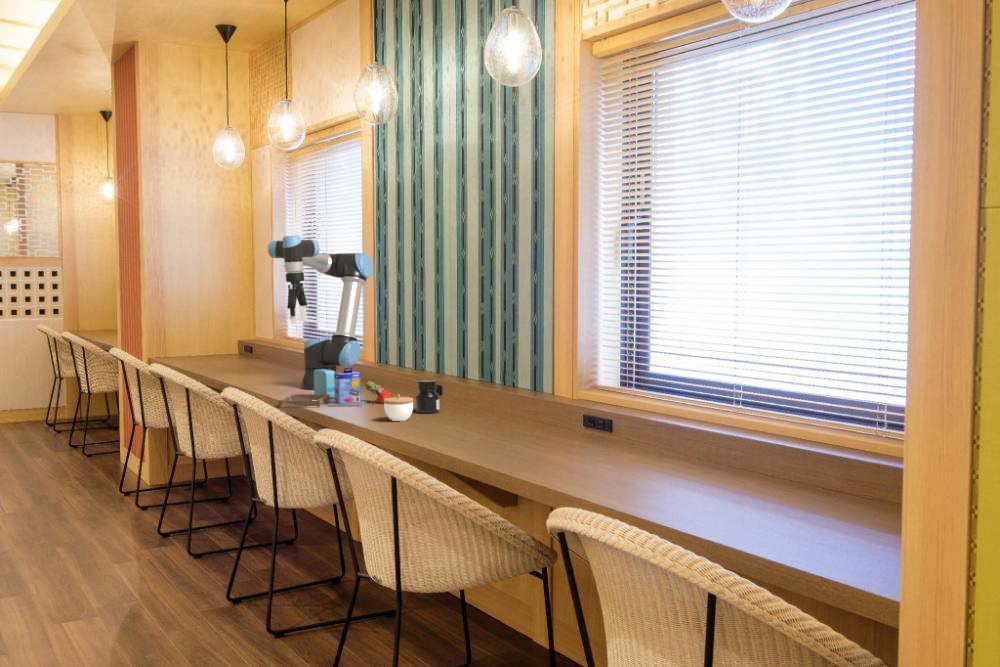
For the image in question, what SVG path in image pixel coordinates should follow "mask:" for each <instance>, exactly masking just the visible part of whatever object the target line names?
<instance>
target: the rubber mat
mask: <svg viewBox="0 0 1000 667" xmlns="http://www.w3.org/2000/svg"><path fill="white" fill-rule="evenodd" d="M369 401H370V400H369V399H361V402H354V403H343V404H338V403H336V402H335V399H333V401H331V402H330V403H328V404H326V406H327V407H362V405H363V406H364V405H365V404H367V403H368V402H369ZM366 402H367V403H366Z"/></svg>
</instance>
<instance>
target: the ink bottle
mask: <svg viewBox="0 0 1000 667" xmlns="http://www.w3.org/2000/svg"><path fill="white" fill-rule="evenodd" d="M417 387H418V393H417V394H416V395H415V403H416V404H415V405H416V406H415V411H416V413H418V414H436V413H439V412H440V407H441V406H440V394H439V393H438V392H437V380H435V379H422V380H418V386H417Z"/></svg>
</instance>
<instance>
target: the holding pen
mask: <svg viewBox="0 0 1000 667" xmlns="http://www.w3.org/2000/svg"><path fill="white" fill-rule="evenodd" d="M312 400H317V401H312ZM329 400H330V401H331V399H330V395H314V394H291V395H290V396H287V397H285V398H283V399H281V400H279V401H278V407H279V408H308V407H307V406H320V405H321V406H323V405H325V404H327V403H328V402H330V401H329ZM324 403H325V404H324ZM322 404H323V405H322ZM321 406H320V407H321Z"/></svg>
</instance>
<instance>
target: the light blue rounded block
mask: <svg viewBox="0 0 1000 667" xmlns="http://www.w3.org/2000/svg"><path fill="white" fill-rule="evenodd" d="M334 373H336V371H335V370H332V369H330V370H327V369H318V370H314V389H313V391H314V392H313V395H330V400H335V386H334Z"/></svg>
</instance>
